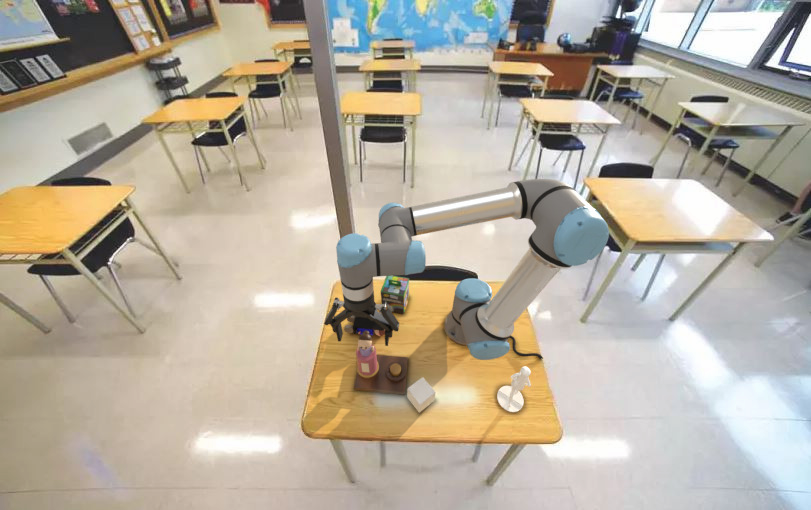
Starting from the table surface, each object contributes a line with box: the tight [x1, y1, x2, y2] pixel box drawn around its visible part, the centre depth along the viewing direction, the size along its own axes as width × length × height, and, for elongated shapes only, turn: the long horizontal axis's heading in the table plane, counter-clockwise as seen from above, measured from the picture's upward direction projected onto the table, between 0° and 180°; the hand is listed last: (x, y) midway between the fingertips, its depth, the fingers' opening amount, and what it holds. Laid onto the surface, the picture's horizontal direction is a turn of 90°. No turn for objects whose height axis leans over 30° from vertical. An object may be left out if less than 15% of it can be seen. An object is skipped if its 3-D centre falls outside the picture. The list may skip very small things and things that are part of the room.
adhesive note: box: [406, 376, 436, 413], centre depth 97 cm, size 6×6×6 cm
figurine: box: [496, 366, 532, 413], centre depth 93 cm, size 8×8×18 cm
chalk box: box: [380, 275, 410, 315], centre depth 122 cm, size 9×9×15 cm
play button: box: [390, 363, 401, 377], centre depth 101 cm, size 4×4×2 cm
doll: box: [355, 331, 379, 378], centre depth 96 cm, size 7×7×17 cm
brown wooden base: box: [353, 354, 409, 396], centre depth 103 cm, size 16×12×4 cm
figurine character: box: [343, 316, 385, 337], centre depth 114 cm, size 7×8×15 cm
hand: (363, 339), depth 91 cm, fingers open, 13 cm apart
